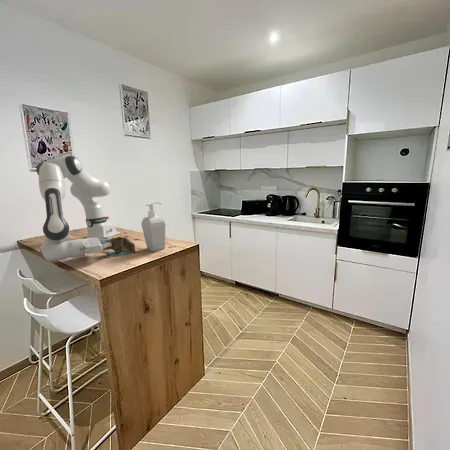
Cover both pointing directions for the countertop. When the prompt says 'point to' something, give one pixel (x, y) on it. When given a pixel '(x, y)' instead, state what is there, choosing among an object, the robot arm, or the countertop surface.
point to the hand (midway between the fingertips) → (109, 242)
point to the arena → (126, 243)
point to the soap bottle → (154, 229)
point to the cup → (116, 244)
